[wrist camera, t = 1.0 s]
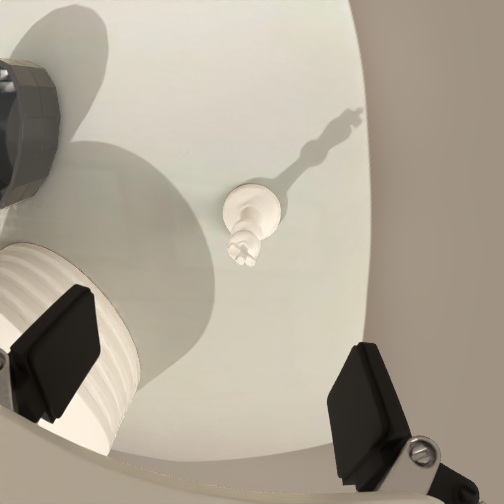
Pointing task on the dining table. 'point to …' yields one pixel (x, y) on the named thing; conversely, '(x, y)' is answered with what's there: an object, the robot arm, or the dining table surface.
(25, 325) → the plate stack
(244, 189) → the chess piece
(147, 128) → the dining table surface
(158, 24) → the dining table surface
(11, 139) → the grey faceted round tub
